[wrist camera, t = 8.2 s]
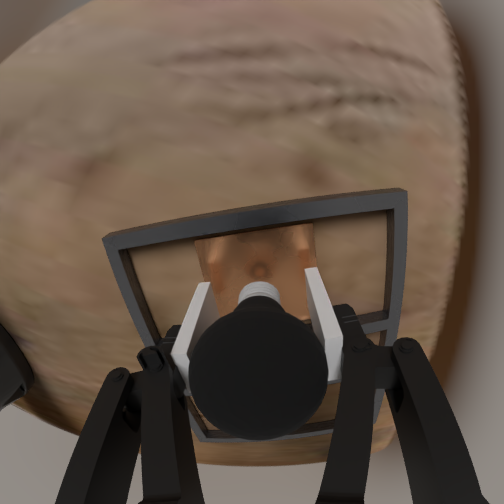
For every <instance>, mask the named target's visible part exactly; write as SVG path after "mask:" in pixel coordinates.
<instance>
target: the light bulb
mask: <svg viewBox="0 0 504 504" xmlns="http://www.w3.org/2000/svg"><path fill="white" fill-rule="evenodd" d="M328 374H329V370H328V364H327V358H326V354H325V351H324V349H323V347H322V345H321V343H320V341H319V339H318V338H317V336H316V334H315V333H314V332H313V331H312V330H311V329H310V328H309V327H308V326H307V325H306V324H305V323H303V322H302V321H301V320H300V319H298V318H296V317H295V316H293V315H291V314H289V313H287V312H285V310H284V309H283V308H282V306H281V302H280V294H279V292H278V290H277V289H276V288H275V287H274V286H273V285H271V284H269V283H267V282H263V281H258V282H252V283H249V284H248V285H246V286H245V287H244V288H243V289H242V290H241V292H240V294H239V300H238V305H237V307H236V308H235V309H234V311H233V312H231V313H229V314H227V315H225V316H223V317H221V318H219V319H218V320H216V321H215V322H214V323H213V324H212V325H211V326H209V327H208V328H207V329H206V330H205V331H204V332H203V334H202V335H201V336H200V338H199V340H198V342H197V343H196V345H195V347H194V349H193V351H192V354H191V358H190V362H189V367H188V379H189V387H190V391H191V394H192V396H193V399H194V401H195V404H196V406H197V407H198V409H199V410H200V411H201V413H202V414H203V415H204V416H205V418H206V419H207V420H208V421H209V422H210V423H212V424H213V425H214V426H215V427H217V428H218V429H220V430H222V431H223V432H225V433H227V434H229V435H232V436H235V437H237V438H241V439H246V440H256V441H262V440H270V439H275V438H279V437H282V436H285V435H287V434H289V433H291V432H293V431H295V430H297V429H298V428H300V427H301V426H302V425H304V424H305V423H306V422H307V421H308V420H309V419H310V418H311V417H312V416H313V414H314V413H315V412H316V410H317V409H318V407H319V406H320V404H321V403H322V400H323V398H324V395H325V393H326V389H327V384H328Z"/></svg>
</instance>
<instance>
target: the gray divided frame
mask: <svg viewBox="0 0 504 504" xmlns="http://www.w3.org/2000/svg"><path fill="white" fill-rule="evenodd" d="M383 209H387V264H386V283H385V297H384V308H383V310H382V311H377V312H373V313H368V314H363V315H358V316H357V318H358V320H359V322H360V325H361V327H362V329H363V331H364V333H365V334H368V333H373V332H377V331H381V334H380V342H379V346H393V343H394V342H395V341H396V338H397V333H398V327H399V320H400V314H401V306H402V298H403V290H404V280H405V268H406V253H407V228H408V199H407V191H406V190H403V189H401V188H390V189H380V190H370V191H360V192H351V193H342V194H334V195H325V196H317V197H310V198H302V199H295V200H288V201H281V202H274V203H267V204H260V205H254V206H248V207H241V208H235V209H229V210H223V211H217V212H212V213H206V214H200V215H195V216H190V217H184V218H179V219H174V220H169V221H163V222H158V223H153V224H149V225H144V226H139V227H134V228H130V229H125V230H120V231H116V232H111V233H109V234H108V235H106V236H105V237H103V238H102V241H103V244H104V247H105V250H106V253H107V256H108V259H109V261H110V264H111V267H112V270H113V272H114V275H115V278H116V281H117V283H118V286H119V288H120V291H121V293H122V296H123V298H124V301H125V303H126V305H127V308H128V310H129V313H130V315H131V317H132V319H133V322H134V324H135V326H136V328H137V330H138V333H139V335H140V337H141V339H142V341H143V343H144V345H145V347H148V346H159V347H161V345H162V343H163V340H164V338H160V336H159V333H158V331H157V329H156V326H155V324H154V322H153V319H152V317H151V314H150V312H149V309H148V307H147V304H146V302H145V299H144V297H143V294H142V291H141V289H140V286H139V283H138V280H137V278H136V275H135V272H134V269H133V266H132V263H131V260H130V257H129V254H128V251H127V248H131V247H136V246H142V245H148V244H153V243H159V242H165V241H171V240H176V239H182V238H188V237H194V236H200V235H206V234H213V233H219V232H225V231H231V230H238V229H244V228H251V227H257V226H264V225H271V224H278V223H285V222H292V221H299V220H306V219H313V218H320V217H328V216H335V215H343V214H351V213H359V212H367V211H375V210H383ZM194 243H195V247H196V251H197V254H198V258H199V262H200V266H201V270H202V273H203V277H204V281H205V282H211V286H212V290H213V294H214V297H215V301H216V305H217V308H218V312H219V315H220V318H221V317H223V316H225V315H227V314H229V313H231V312H233V311H234V309H235V308H236V307H237V305H238V300H239V294H240V292H241V290H242V289H243V288H244V287H245V286H246V285H248V284H249V283H252V282H258V281H263V282H267V283H269V284H271V285H273V286H274V287H275V288H276V289H277V290H278V292H279V294H280V302H281V306H282V308H283V309H284V310H285V312H287V313H289V314H291V315H293V316H295V317H296V318H298V319H300V320H307V319H311V318H310V313H309V309H308V304H307V292H306V281H305V270H304V269H306V268H313V267H317V264H316V252H315V241H314V231H313V223H312V222H311V223H304V224H296V225H289V226H282V227H276V228H269V229H262V230H255V231H249V232H242V233H236V234H229V235H223V236H216V237H210V238H204V239H198V240H194ZM306 325H307V326H308V327H309V328H310V329H311V330H312V331H313V332H314V330H313V326H312V323H311V324H306ZM341 378H342V373H341ZM339 382H341V379H337V380H331V381H328V384H333V383H339ZM328 384H327V385H328ZM384 392H385V389H375V397H374V417H373V424H375V423H376V420H377V417H378V413H379V410H380V407H381V403H382V400H383V396H384ZM184 394H185V396H186V398H187V406H188V413H189V420H190V427H191V428H192V430H193V431H194V433H195V434H196V436H197V437H198V439H199V440H200V442H258V441H256V440H246V439H241V438H237V437H235V436H232V435H229V434H227V433H225V432H223V431H222V430H207V428H206V426H205V425H204V423H203V421H202V420H201V418H200V416H199V414H198V412H197V411H196V409H195V407H194V405H193V403H192V402H191V400H190V398H189V396H192V394H191V393H189V392H188V390H187V388H186V386H185V390H184ZM334 424H335V420H330V421H324V422H318V423H312V424H305V425H302V426H301V427H300V428H298V429H297V430H295V431H293V432H291V433H289V434H287V435H285V436H282V437H279V438H275V439H270V440H262V441H273V440H285V439H294V438H302V437H310V436H316V435H323V434H329V433H333V429H334Z"/></svg>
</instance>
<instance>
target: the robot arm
mask: <svg viewBox="0 0 504 504" xmlns="http://www.w3.org/2000/svg"><path fill="white" fill-rule="evenodd" d="M304 270H305V281H306V292H307V304H308V309H309V313H310V318H311V322H312V326H313V330H314V333H315V334H316V336H317V338H318V339H319V341H320V343H321V345H322V347H323V349H324V351H325V354H326V358H327V364H328V370H329V374H328V381H331V380H337V379H341V386H340V393H339V399H338V406H337V412H336V418H335V424H334V429H333V434H332V439H331V444H330V449H329V454H328V458H327V463H326V467H325V471H324V475H323V479H322V483H321V487H320V491H319V495H318V497H317V500H316V503H315V504H364V493H365V487H366V481H367V475H368V468H369V460H370V452H371V442H372V431H373V417H374V397H375V389H385V392H386V395H387V399H388V402H389V405H390V409H391V412H392V416H393V419H394V423H395V426H396V430H397V434H398V437H399V441H400V445H401V449H402V453H403V457H404V461H405V466H406V470H407V475H408V479H409V484H410V489H411V495H412V500H413V504H489V503H488V501H487V500H486V499H485V498H484V497H483V495H482V493H481V490H480V486H479V483H478V479H477V476H476V473H475V470H474V467H473V463H472V461H471V458H470V455H469V452H468V449H467V446H466V444H465V441H464V438H463V436H462V433H461V431H460V428H459V426H458V423H457V421H456V418H455V416H454V414H453V411H452V409H451V407H450V404H449V402H448V400H447V398H446V396H445V393H444V391H443V389H442V387H441V385H440V383H439V381H438V379H437V377H436V375H435V373H434V371H433V369H432V367H431V365H430V363H429V361H428V359H427V357H426V355H425V353H424V351H423V349H422V347H421V346H420V344H419V343H418V342H417V341H416V340H414V339H413V338H408V337H405V338H400V339H397V340H396V341H395V342H394V343H393V346H378V345H375V344H374V343H373V342H372V341H371V340H370V339H368V338H366V335H365V333H364V331H363V329H362V327H361V325H360V322H359V320H358V318H357V316H356V314H355V312H354V310H353V308H352V307H350V306H349V305H348V304H341V305H336V306H332V305H331V302H330V300H329V297H328V295H327V292H326V289H325V287H324V284H323V282H322V279H321V277H320V274H319V272H318V269H317V267H313V268H306V269H304ZM219 318H220V315H219V312H218V308H217V305H216V301H215V297H214V294H213V290H212V286H211V282H203V283H199V284H198V286H197V289H196V291H195V293H194V296H193V298H192V301H191V303H190V306H189V308H188V311H187V313H186V316H185V318H184V321H183V323H182V325H173V326H172V327H171V328H170V329H169V330H168V331H167V334H166V336H165V338H164V340H163V343H162V345H161V347H159V346H148V347H146V348H144V349H142V350H141V351H140V352H139V353H138V355H137V359H138V361H139V363H140V365H141V366H142V368H143V371H139V372H135V373H131V374H130V372H129V371H128V370H127V369H126V368H123V367H120V368H116V369H113V370H112V371H111V372H109V374H108V375H107V377H106V379H105V381H104V383H103V385H102V387H101V389H100V391H99V393H98V396H97V398H96V400H95V402H94V404H93V407H92V409H91V411H90V413H89V415H88V418H87V420H86V422H85V425H84V427H83V429H82V432H81V434H80V437H79V439H78V442H77V444H76V447H75V449H74V452H73V454H72V457H71V459H70V462H69V465H68V467H67V470H66V473H65V476H64V479H63V481H62V484H61V487H60V490H59V493H58V496H57V499H56V502H55V504H126V502H127V498H128V493H129V488H130V484H131V480H132V476H133V471H134V467H135V463H136V460H137V456H138V452H139V448H140V444H141V463H142V484H143V500H142V501H141V502H139V503H138V504H205V502H204V498H203V493H202V489H201V484H200V479H199V474H198V469H197V463H196V458H195V452H194V446H193V440H192V434H191V427H190V420H189V413H188V406H187V398H186V396H185V394H184V390H185V386H186V388H187V390H188V392H189V393H191V391H190V387H189V379H188V367H189V362H190V358H191V354H192V351H193V349H194V347H195V345H196V343H197V342H198V340H199V338H200V336H201V335H202V334H203V332H204V331H205V330H206V329H207V328H208V327H209V326H211V325H212V324H213V323H214V322H215V321H216V320H218V319H219ZM341 373H342V378H341ZM33 383H34V378H33V374H32V371H31V369H30V367H29V365H28V363H27V361H26V359H25V358H24V356H23V354H22V353H21V351H20V350H19V348H18V347H17V345H16V344H15V343H14V341H13V340H12V338H11V337H10V336H9V334H8V333H7V332H6V331H5V329H4V328H3V327H2V326H1V325H0V411H1V410H2V409H3V408H4V407H6V406H8V405H9V404H11V403H13V402H14V401H16V400H17V399H19V398H20V397H22V396H24V395H25V394H26V393H27V392H28V391H29V389H30V388H31V386H32V385H33Z"/></svg>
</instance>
